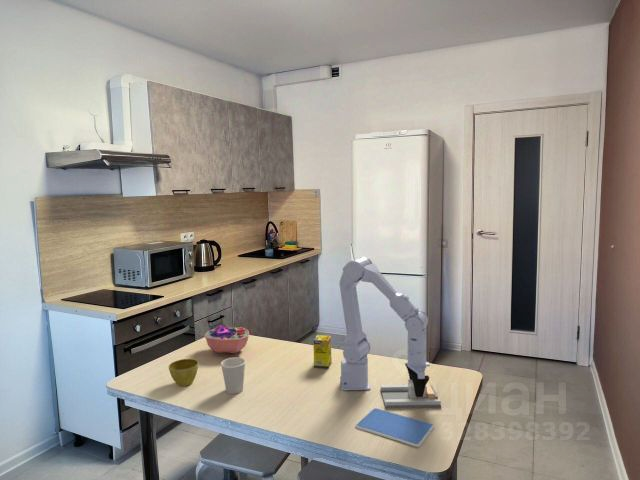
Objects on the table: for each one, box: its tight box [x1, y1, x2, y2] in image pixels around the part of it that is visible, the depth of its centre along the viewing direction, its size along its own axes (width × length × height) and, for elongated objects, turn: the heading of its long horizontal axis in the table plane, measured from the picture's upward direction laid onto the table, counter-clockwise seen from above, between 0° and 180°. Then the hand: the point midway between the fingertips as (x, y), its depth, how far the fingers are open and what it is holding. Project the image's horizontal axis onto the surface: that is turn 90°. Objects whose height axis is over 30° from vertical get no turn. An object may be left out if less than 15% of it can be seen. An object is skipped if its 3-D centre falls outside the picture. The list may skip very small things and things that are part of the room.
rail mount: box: [380, 383, 442, 409], centre depth 143 cm, size 17×13×2 cm
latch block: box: [426, 382, 435, 399], centre depth 143 cm, size 2×8×2 cm, turn 179°
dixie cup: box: [220, 357, 247, 395], centre depth 151 cm, size 8×8×10 cm
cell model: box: [203, 324, 250, 354], centre depth 187 cm, size 17×20×11 cm
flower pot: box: [168, 358, 199, 387], centre depth 158 cm, size 10×10×7 cm
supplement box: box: [312, 334, 333, 369], centre depth 171 cm, size 6×6×11 cm
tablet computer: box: [354, 407, 435, 448], centre depth 126 cm, size 19×13×1 cm, turn 56°
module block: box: [407, 379, 427, 399], centre depth 143 cm, size 5×5×4 cm
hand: (416, 390), depth 143 cm, fingers open, 7 cm apart
